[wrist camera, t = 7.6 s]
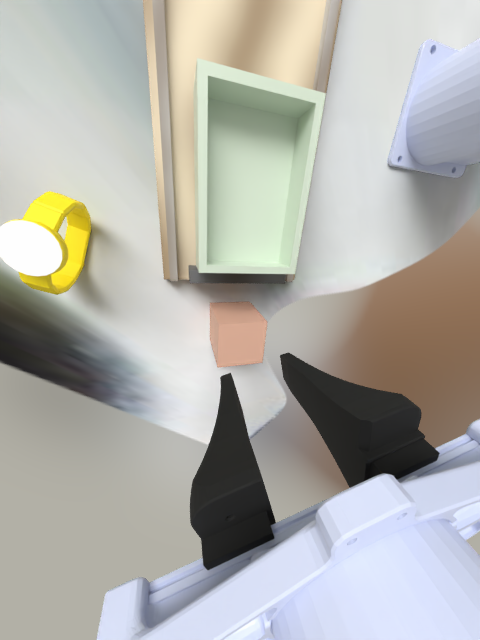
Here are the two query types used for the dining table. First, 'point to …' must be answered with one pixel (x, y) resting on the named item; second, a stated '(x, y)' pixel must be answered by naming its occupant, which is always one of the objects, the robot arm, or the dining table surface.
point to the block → (237, 333)
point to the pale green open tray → (251, 169)
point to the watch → (47, 243)
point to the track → (233, 51)
